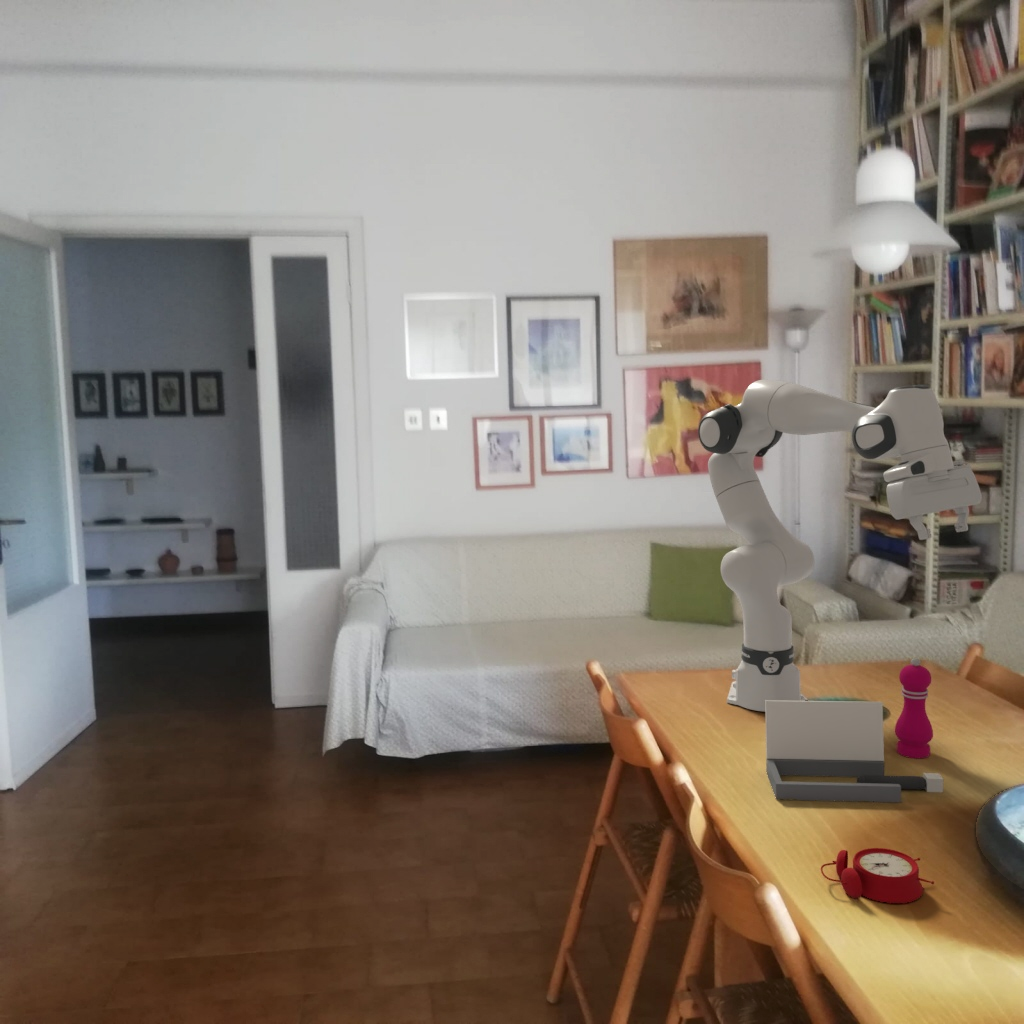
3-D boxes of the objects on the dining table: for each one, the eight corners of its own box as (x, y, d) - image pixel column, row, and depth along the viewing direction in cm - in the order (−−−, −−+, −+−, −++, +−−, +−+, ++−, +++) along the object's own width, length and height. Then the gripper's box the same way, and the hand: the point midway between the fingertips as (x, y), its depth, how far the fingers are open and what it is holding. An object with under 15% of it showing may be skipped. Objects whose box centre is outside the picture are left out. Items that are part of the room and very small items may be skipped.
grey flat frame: (766, 772, 187) (766, 757, 187) (882, 774, 184) (883, 760, 184) (775, 799, 175) (776, 784, 174) (900, 802, 172) (901, 786, 172)
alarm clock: (940, 884, 138) (836, 858, 139) (929, 923, 138) (826, 897, 140) (919, 849, 148) (822, 826, 149) (909, 886, 149) (812, 862, 150)
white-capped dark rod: (858, 790, 178) (859, 777, 177) (855, 784, 180) (855, 771, 180) (942, 792, 176) (943, 779, 175) (938, 786, 178) (938, 773, 178)
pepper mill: (936, 760, 191) (939, 663, 188) (898, 758, 192) (900, 662, 189) (928, 747, 198) (930, 653, 195) (891, 745, 199) (893, 652, 196)
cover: (766, 758, 186) (766, 757, 187) (883, 760, 183) (882, 759, 184) (765, 701, 186) (765, 700, 187) (882, 702, 184) (881, 701, 185)
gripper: (955, 461, 191) (971, 529, 190) (876, 475, 183) (892, 545, 182) (980, 455, 185) (997, 524, 184) (899, 468, 177) (916, 541, 176)
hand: (944, 535), depth 183 cm, fingers open, 8 cm apart
